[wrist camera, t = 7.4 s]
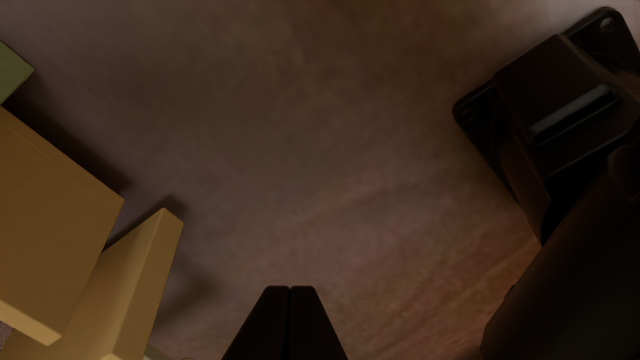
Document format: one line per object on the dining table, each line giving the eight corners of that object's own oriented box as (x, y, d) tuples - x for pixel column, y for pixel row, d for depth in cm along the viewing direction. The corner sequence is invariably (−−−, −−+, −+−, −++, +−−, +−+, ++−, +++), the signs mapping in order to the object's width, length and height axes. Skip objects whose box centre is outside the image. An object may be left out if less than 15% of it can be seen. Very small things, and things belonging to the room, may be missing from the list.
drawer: (253, 276, 25) (235, 426, 19) (112, 363, 29) (60, 510, 23) (-75, 18, 18) (-270, 131, 12) (-206, 180, 21) (-402, 327, 16)
